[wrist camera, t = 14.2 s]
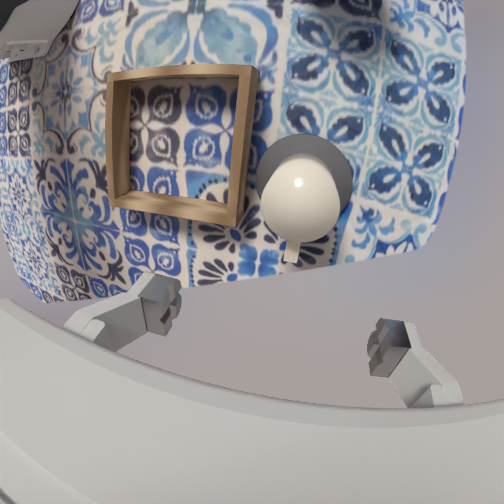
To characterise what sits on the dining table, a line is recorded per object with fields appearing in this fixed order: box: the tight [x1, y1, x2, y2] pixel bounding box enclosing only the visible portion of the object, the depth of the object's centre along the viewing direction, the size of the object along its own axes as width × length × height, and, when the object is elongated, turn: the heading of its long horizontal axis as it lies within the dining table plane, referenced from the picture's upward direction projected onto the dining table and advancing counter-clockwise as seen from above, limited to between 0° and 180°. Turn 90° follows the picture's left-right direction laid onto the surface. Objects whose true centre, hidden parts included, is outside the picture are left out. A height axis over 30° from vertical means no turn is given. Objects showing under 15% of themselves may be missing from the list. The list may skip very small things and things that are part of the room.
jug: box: [261, 152, 340, 263], centre depth 24 cm, size 9×6×8 cm
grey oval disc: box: [256, 134, 352, 214], centre depth 28 cm, size 10×10×1 cm
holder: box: [105, 64, 259, 227], centre depth 27 cm, size 16×16×4 cm
